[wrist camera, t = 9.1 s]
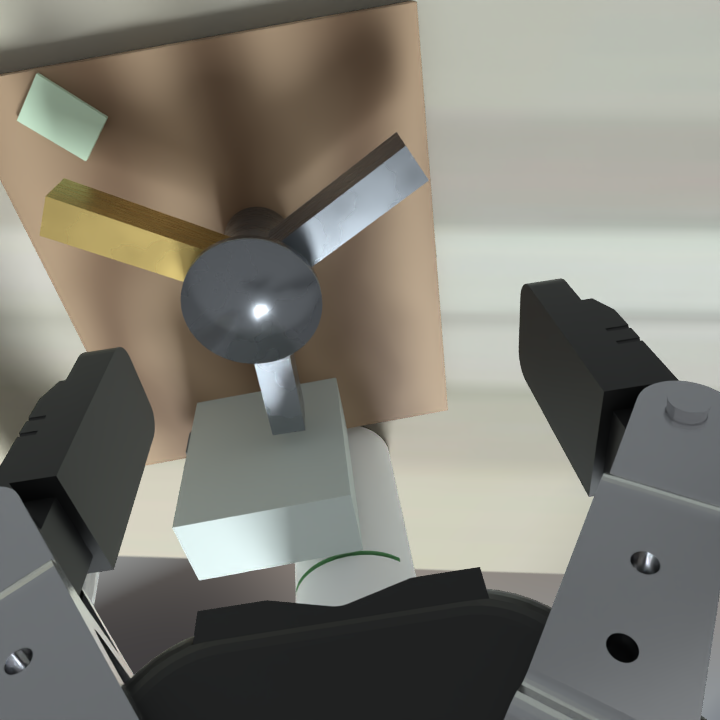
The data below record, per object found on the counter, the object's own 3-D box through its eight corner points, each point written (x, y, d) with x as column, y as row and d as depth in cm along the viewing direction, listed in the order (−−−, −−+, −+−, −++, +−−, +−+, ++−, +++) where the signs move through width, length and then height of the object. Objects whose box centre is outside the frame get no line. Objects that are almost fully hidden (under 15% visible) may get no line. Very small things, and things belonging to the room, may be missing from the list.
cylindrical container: (335, 508, 46) (377, 952, 25) (272, 460, 42) (262, 932, 22) (408, 462, 44) (518, 903, 23) (349, 408, 40) (417, 872, 20)
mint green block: (108, 116, 27) (106, 118, 27) (87, 159, 28) (85, 161, 28) (38, 72, 26) (36, 73, 26) (19, 119, 27) (16, 120, 27)
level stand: (336, 377, 37) (350, 494, 29) (346, 428, 40) (363, 550, 31) (180, 405, 37) (150, 531, 29) (200, 455, 40) (179, 584, 31)
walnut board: (411, 0, 27) (416, 1, 26) (443, 399, 41) (447, 409, 40) (-36, 80, 27) (-48, 84, 26) (147, 453, 41) (144, 465, 40)
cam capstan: (115, -8, 24) (58, 2, 18) (414, 129, 29) (449, 173, 23) (55, 314, 32) (2, 395, 26) (297, 383, 37) (300, 466, 31)
